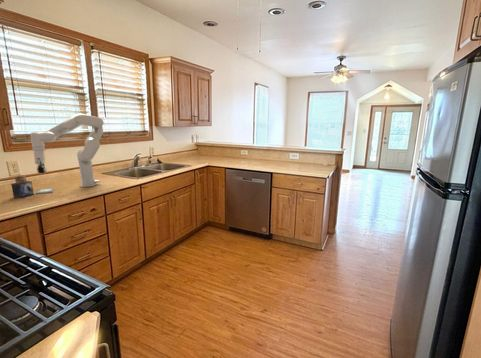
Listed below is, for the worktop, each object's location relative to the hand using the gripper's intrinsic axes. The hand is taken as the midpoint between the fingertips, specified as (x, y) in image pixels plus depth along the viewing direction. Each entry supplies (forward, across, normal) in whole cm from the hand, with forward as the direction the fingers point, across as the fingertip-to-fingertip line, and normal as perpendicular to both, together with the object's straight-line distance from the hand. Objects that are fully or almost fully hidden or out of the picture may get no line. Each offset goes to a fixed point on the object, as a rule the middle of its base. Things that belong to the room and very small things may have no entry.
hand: (42, 171), depth 202 cm
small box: (+17, +7, -12) cm, 21 cm away
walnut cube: (+6, +7, -12) cm, 15 cm away
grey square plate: (+16, 0, 0) cm, 16 cm away
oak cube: (+1, 0, 0) cm, 1 cm away
